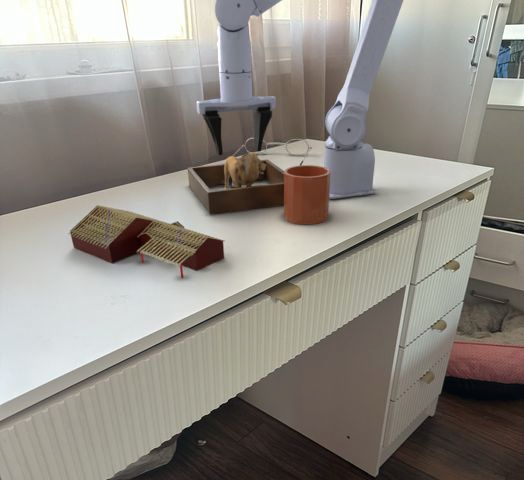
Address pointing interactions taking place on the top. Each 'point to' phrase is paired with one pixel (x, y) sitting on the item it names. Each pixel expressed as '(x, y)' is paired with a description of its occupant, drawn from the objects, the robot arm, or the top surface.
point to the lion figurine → (243, 170)
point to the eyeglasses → (279, 144)
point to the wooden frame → (236, 189)
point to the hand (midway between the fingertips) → (238, 152)
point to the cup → (306, 194)
